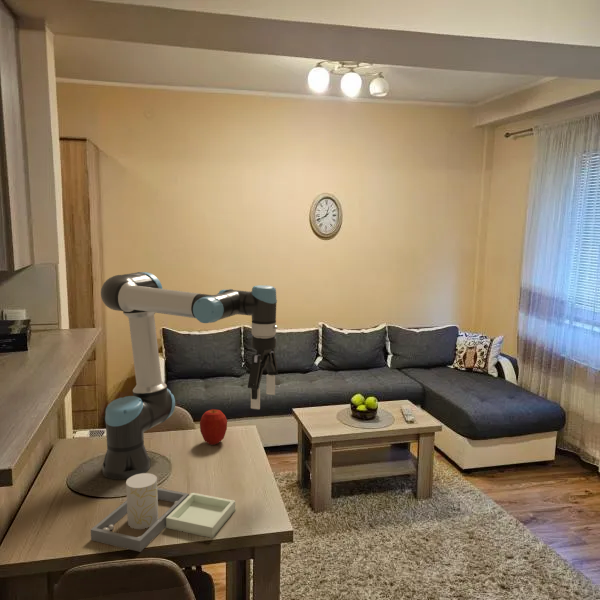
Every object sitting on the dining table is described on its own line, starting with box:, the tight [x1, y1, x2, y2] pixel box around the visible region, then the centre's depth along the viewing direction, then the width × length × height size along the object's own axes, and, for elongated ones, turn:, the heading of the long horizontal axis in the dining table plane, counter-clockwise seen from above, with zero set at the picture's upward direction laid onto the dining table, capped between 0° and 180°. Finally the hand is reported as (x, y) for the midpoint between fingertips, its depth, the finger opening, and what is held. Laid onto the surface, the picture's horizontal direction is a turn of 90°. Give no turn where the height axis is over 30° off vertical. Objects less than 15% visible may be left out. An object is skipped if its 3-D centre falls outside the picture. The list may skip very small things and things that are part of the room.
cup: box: [125, 472, 159, 530], centre depth 143 cm, size 8×8×12 cm
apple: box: [199, 408, 228, 446], centre depth 193 cm, size 10×10×14 cm
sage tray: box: [165, 492, 236, 539], centre depth 145 cm, size 14×14×3 cm
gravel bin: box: [90, 487, 190, 553], centre depth 144 cm, size 15×24×3 cm, turn 162°
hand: (263, 401), depth 164 cm, fingers open, 13 cm apart
